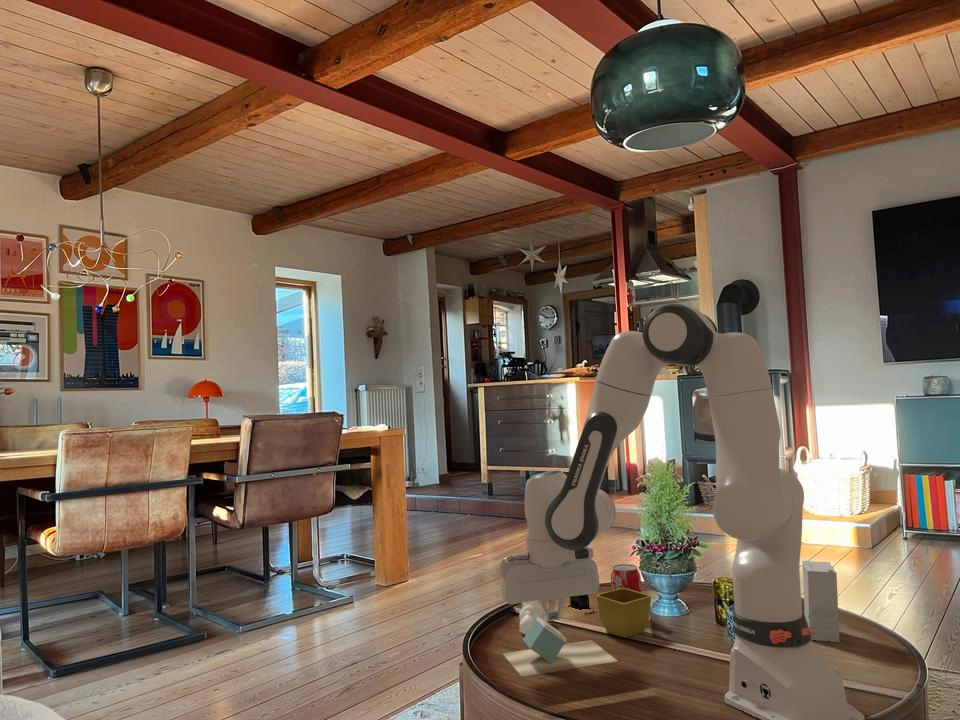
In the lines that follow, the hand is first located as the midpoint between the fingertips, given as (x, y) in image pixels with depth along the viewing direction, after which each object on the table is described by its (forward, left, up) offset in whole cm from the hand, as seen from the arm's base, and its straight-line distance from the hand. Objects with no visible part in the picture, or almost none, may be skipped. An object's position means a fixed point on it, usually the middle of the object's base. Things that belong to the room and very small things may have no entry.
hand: (552, 619), depth 145 cm
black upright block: (+31, -19, -9) cm, 37 cm away
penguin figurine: (+19, -2, -9) cm, 21 cm away
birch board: (0, -1, -8) cm, 9 cm away
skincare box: (-8, -58, -9) cm, 59 cm away
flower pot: (+8, -20, -9) cm, 23 cm away
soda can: (+19, -26, -9) cm, 34 cm away
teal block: (0, 0, -2) cm, 2 cm away
